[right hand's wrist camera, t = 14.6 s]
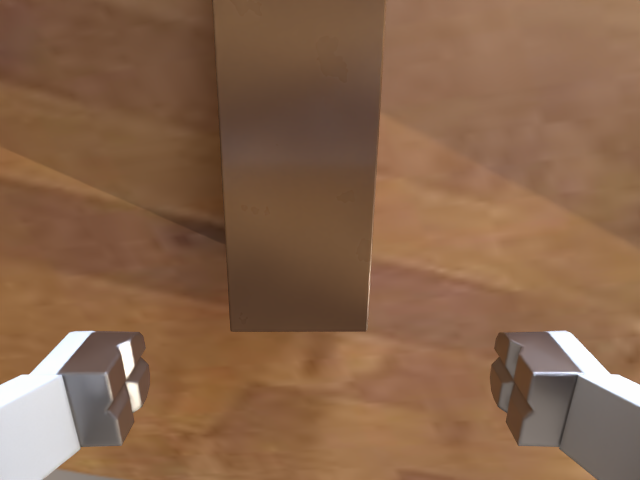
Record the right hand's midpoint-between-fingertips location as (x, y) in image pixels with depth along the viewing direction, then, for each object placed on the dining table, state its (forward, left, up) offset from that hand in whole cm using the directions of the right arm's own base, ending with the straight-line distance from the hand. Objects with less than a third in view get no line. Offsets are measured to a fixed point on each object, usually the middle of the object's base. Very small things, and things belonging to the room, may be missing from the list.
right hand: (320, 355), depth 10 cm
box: (-6, -6, -16) cm, 18 cm away
